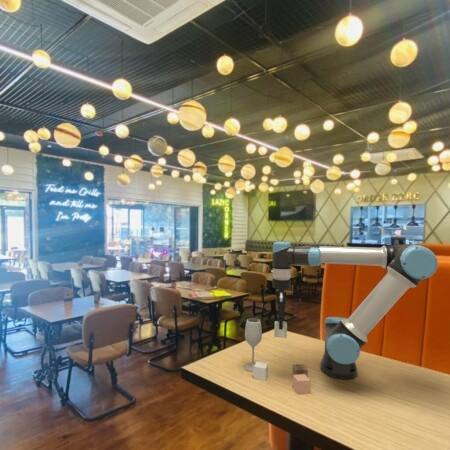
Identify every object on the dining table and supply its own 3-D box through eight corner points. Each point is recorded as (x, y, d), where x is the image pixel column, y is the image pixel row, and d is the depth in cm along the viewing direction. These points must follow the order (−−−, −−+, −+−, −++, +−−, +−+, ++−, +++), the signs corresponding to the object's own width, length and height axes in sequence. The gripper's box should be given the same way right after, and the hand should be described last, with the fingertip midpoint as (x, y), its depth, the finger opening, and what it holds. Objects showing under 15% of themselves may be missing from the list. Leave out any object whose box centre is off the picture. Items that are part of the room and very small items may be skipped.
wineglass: (260, 372, 130) (261, 323, 130) (243, 370, 132) (243, 322, 132) (262, 364, 138) (262, 318, 138) (245, 363, 139) (246, 317, 139)
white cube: (267, 375, 128) (267, 363, 128) (265, 380, 123) (265, 368, 123) (256, 373, 130) (256, 361, 130) (253, 378, 125) (253, 366, 125)
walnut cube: (304, 376, 127) (304, 364, 128) (307, 382, 122) (307, 370, 123) (292, 376, 128) (292, 364, 128) (295, 382, 123) (295, 369, 123)
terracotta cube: (304, 386, 119) (304, 374, 119) (310, 393, 114) (310, 380, 114) (292, 387, 118) (292, 374, 118) (297, 394, 113) (297, 381, 113)
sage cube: (286, 333, 129) (286, 322, 129) (286, 337, 124) (286, 325, 124) (274, 332, 130) (274, 321, 130) (274, 336, 125) (274, 324, 125)
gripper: (273, 275, 137) (272, 327, 136) (271, 281, 119) (270, 341, 119) (290, 275, 135) (289, 328, 135) (291, 282, 118) (290, 343, 117)
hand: (280, 334), depth 127 cm, fingers closed on sage cube, 5 cm apart
